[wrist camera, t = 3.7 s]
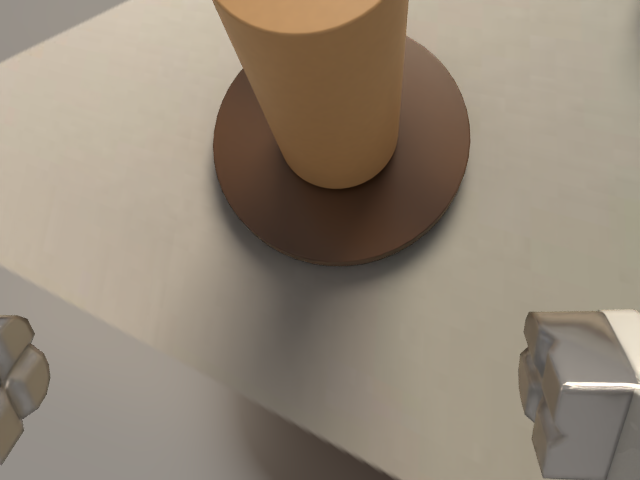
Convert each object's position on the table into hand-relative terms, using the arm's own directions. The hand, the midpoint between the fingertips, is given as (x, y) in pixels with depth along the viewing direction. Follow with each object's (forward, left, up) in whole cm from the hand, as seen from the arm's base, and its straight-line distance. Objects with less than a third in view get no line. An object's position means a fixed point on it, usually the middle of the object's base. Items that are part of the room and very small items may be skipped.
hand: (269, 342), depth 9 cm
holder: (+10, +7, -20) cm, 24 cm away
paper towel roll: (+10, +7, -19) cm, 22 cm away
